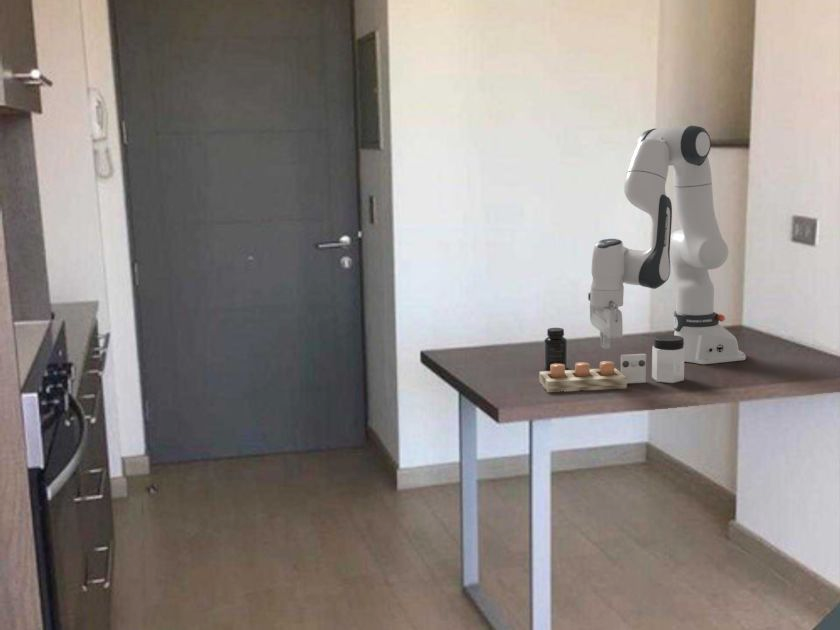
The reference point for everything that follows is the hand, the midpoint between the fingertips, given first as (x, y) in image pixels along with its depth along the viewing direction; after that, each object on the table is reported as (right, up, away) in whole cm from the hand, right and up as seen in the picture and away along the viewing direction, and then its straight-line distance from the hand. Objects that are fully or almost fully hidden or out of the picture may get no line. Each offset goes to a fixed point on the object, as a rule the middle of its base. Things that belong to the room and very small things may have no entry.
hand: (605, 347), depth 274 cm
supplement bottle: (-11, -7, +20) cm, 24 cm away
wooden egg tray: (-6, -10, +2) cm, 12 cm away
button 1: (-13, -8, 0) cm, 15 cm away
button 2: (+1, -7, +2) cm, 7 cm away
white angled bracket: (+8, -10, +3) cm, 13 cm away
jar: (+19, -9, +5) cm, 21 cm away
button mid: (-6, -7, +1) cm, 10 cm away
